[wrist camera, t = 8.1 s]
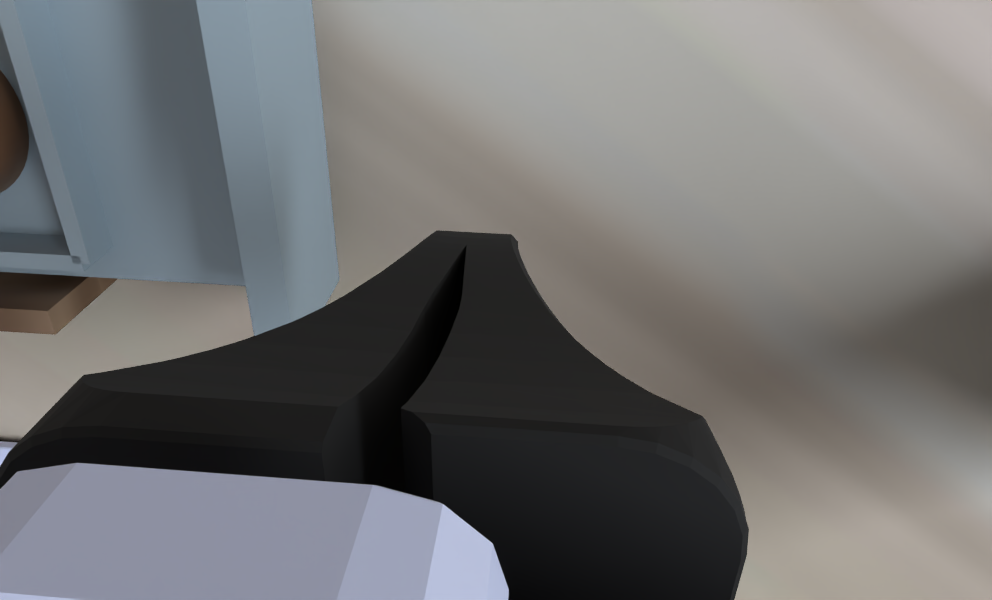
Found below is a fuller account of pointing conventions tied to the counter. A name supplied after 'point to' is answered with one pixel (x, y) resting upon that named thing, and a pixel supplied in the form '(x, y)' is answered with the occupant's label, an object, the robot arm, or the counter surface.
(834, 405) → the counter surface
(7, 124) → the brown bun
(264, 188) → the tray
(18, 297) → the caddy
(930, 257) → the counter surface
